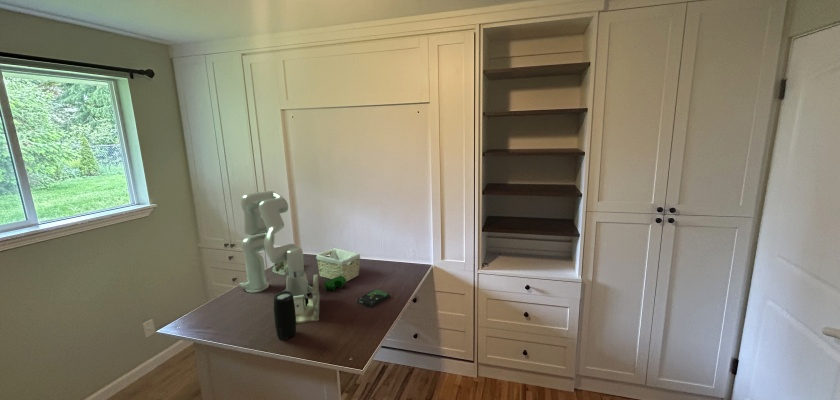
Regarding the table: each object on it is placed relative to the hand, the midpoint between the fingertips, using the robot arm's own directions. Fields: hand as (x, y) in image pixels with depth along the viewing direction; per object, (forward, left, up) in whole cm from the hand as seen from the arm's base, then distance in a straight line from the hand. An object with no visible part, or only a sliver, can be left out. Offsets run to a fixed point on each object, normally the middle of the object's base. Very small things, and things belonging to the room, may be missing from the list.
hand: (299, 305), depth 169 cm
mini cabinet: (0, 0, -2) cm, 2 cm away
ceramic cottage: (-13, +59, -4) cm, 61 cm away
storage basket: (+21, +40, -4) cm, 46 cm away
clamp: (+19, +22, -4) cm, 29 cm away
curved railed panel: (0, 0, -3) cm, 3 cm away
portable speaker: (-4, -20, -4) cm, 21 cm away
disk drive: (+38, +2, -4) cm, 38 cm away
